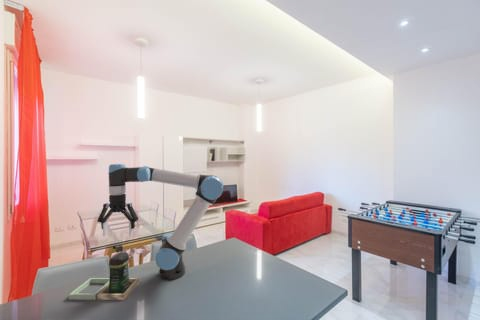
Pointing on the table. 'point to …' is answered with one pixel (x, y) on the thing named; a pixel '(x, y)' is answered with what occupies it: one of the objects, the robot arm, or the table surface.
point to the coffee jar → (119, 273)
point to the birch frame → (104, 296)
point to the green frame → (88, 296)
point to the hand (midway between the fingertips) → (118, 235)
